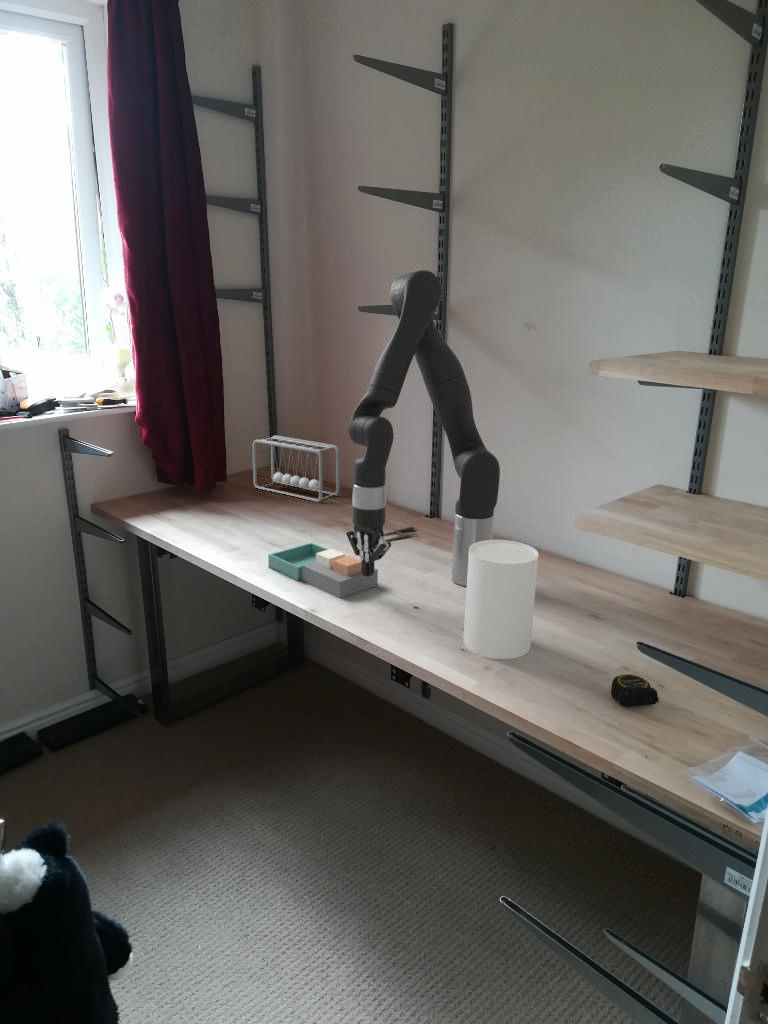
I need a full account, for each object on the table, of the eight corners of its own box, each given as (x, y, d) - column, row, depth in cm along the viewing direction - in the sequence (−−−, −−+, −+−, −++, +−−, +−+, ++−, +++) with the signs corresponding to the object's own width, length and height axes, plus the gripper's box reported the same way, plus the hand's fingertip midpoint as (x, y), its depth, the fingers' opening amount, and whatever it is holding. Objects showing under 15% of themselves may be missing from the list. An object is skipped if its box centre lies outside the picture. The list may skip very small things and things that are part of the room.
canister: (475, 623, 160) (481, 535, 154) (537, 637, 155) (545, 546, 149) (453, 649, 148) (459, 555, 142) (519, 665, 143) (528, 568, 137)
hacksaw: (412, 530, 221) (413, 525, 221) (433, 540, 213) (433, 535, 212) (342, 542, 209) (342, 537, 208) (360, 554, 200) (360, 548, 200)
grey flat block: (377, 584, 179) (377, 569, 178) (339, 598, 171) (340, 582, 170) (339, 568, 189) (339, 553, 188) (302, 580, 181) (302, 565, 180)
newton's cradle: (339, 497, 252) (340, 445, 247) (321, 503, 244) (321, 450, 239) (272, 482, 268) (271, 434, 263) (253, 488, 260) (251, 438, 254)
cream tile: (344, 563, 181) (344, 554, 180) (329, 568, 178) (329, 558, 177) (331, 558, 185) (331, 548, 184) (315, 562, 181) (315, 553, 181)
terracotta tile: (362, 571, 177) (363, 561, 176) (347, 576, 173) (347, 566, 173) (348, 565, 180) (349, 555, 179) (333, 570, 177) (333, 560, 176)
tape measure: (620, 712, 128) (623, 693, 127) (603, 692, 134) (606, 673, 133) (657, 710, 129) (660, 691, 128) (639, 690, 136) (641, 671, 134)
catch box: (341, 567, 190) (341, 554, 189) (297, 581, 180) (297, 567, 179) (311, 554, 198) (311, 542, 197) (268, 567, 188) (268, 554, 187)
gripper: (401, 506, 165) (399, 579, 170) (361, 494, 174) (360, 563, 179) (377, 513, 160) (375, 587, 165) (337, 500, 169) (336, 571, 174)
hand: (367, 575), depth 172 cm, fingers closed
